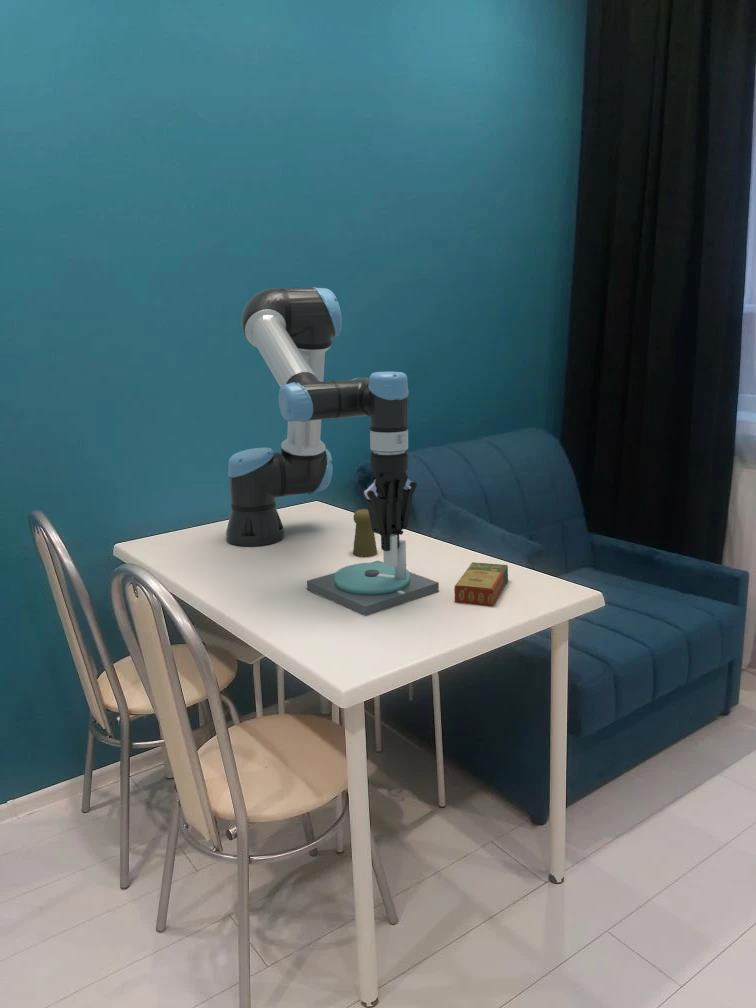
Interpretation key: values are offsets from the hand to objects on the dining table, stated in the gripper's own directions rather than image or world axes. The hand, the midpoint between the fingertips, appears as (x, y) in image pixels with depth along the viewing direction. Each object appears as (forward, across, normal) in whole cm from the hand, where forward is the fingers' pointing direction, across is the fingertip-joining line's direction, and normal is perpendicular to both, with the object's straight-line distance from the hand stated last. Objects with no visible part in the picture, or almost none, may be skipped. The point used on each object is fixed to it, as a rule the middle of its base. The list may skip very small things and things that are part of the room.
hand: (390, 564), depth 160 cm
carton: (+8, +17, -10) cm, 21 cm away
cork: (+8, +16, +27) cm, 32 cm away
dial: (+5, 0, +6) cm, 8 cm away
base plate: (+8, 0, +6) cm, 10 cm away
